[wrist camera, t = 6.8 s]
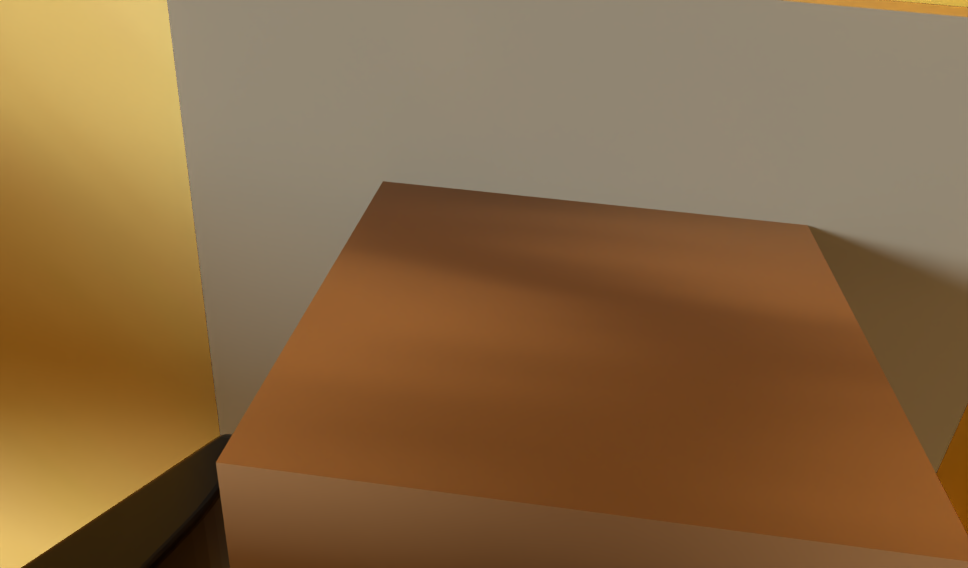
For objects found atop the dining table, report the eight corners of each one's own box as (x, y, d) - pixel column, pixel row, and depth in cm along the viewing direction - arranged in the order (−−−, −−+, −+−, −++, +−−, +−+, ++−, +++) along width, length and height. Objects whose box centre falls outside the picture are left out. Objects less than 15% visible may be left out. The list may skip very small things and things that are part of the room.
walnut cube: (383, 490, 12) (268, 849, 8) (383, 180, 10) (214, 463, 6) (719, 533, 12) (789, 936, 8) (807, 225, 10) (982, 563, 5)
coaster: (251, 554, 14) (238, 581, 14) (184, -63, 9) (160, -56, 9) (837, 638, 14) (847, 671, 13) (1104, 19, 9) (1135, 31, 8)
